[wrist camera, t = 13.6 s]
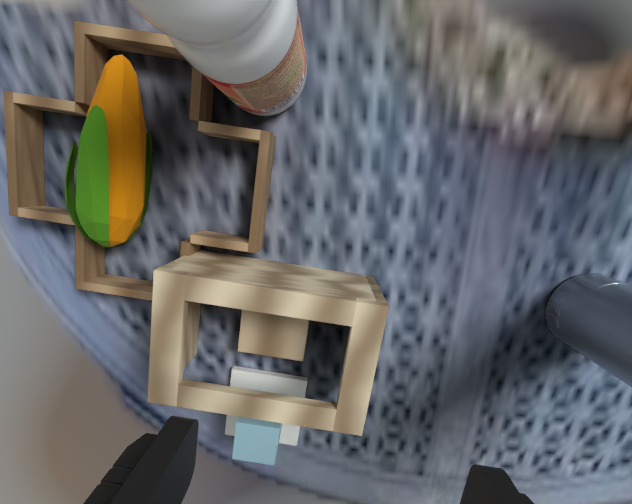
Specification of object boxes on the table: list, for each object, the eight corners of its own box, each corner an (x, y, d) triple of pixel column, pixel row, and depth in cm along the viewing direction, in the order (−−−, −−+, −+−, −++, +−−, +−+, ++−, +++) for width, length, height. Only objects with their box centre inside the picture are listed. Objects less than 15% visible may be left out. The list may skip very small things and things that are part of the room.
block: (286, 394, 42) (279, 428, 36) (281, 427, 43) (274, 465, 37) (249, 389, 42) (236, 421, 36) (245, 421, 43) (232, 458, 37)
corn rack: (284, 65, 35) (279, 52, 31) (255, 304, 40) (249, 315, 37) (31, 27, 35) (-1, 9, 31) (38, 271, 40) (12, 278, 37)
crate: (373, 276, 39) (388, 306, 29) (353, 377, 42) (361, 435, 32) (197, 249, 39) (153, 270, 29) (189, 352, 42) (147, 402, 32)
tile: (307, 377, 42) (307, 381, 41) (297, 441, 44) (296, 445, 43) (233, 365, 42) (231, 369, 41) (226, 430, 44) (224, 434, 43)
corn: (42, 246, 32) (46, 25, 28) (92, 234, 39) (101, 59, 35) (118, 259, 32) (133, 45, 28) (153, 245, 40) (169, 74, 36)
